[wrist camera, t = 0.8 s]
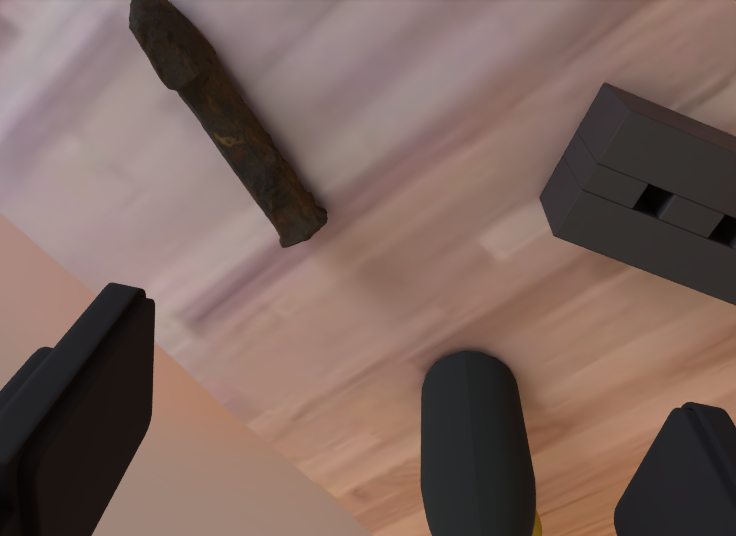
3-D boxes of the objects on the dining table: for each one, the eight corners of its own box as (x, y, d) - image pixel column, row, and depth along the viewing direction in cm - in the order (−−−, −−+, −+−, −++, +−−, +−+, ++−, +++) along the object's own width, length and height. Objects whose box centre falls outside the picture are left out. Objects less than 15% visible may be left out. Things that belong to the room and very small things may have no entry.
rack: (604, 82, 41) (629, 109, 36) (858, 187, 43) (916, 227, 38) (538, 197, 46) (552, 236, 40) (772, 288, 48) (814, 335, 43)
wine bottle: (517, 414, 56) (596, 857, 30) (428, 420, 57) (429, 851, 31) (513, 341, 52) (597, 778, 26) (416, 349, 53) (407, 775, 28)
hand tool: (334, 210, 47) (326, 239, 43) (289, 231, 49) (277, 261, 45) (184, -39, 40) (157, -32, 36) (134, -6, 41) (103, 4, 37)
